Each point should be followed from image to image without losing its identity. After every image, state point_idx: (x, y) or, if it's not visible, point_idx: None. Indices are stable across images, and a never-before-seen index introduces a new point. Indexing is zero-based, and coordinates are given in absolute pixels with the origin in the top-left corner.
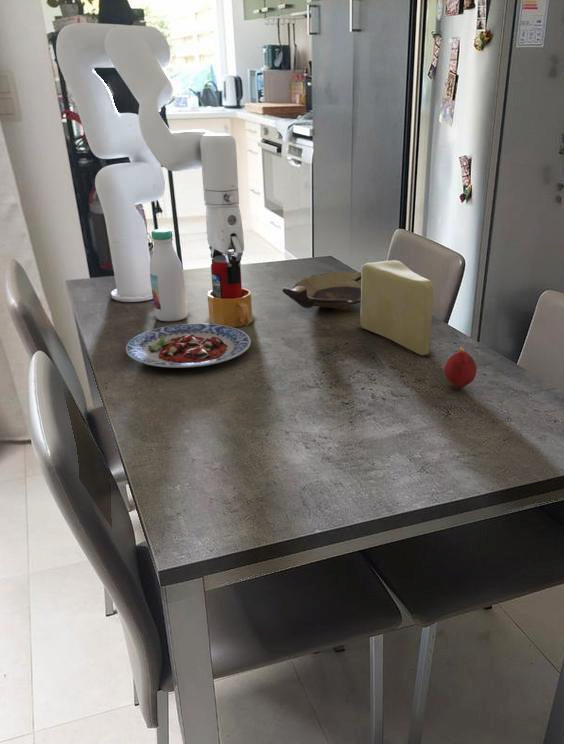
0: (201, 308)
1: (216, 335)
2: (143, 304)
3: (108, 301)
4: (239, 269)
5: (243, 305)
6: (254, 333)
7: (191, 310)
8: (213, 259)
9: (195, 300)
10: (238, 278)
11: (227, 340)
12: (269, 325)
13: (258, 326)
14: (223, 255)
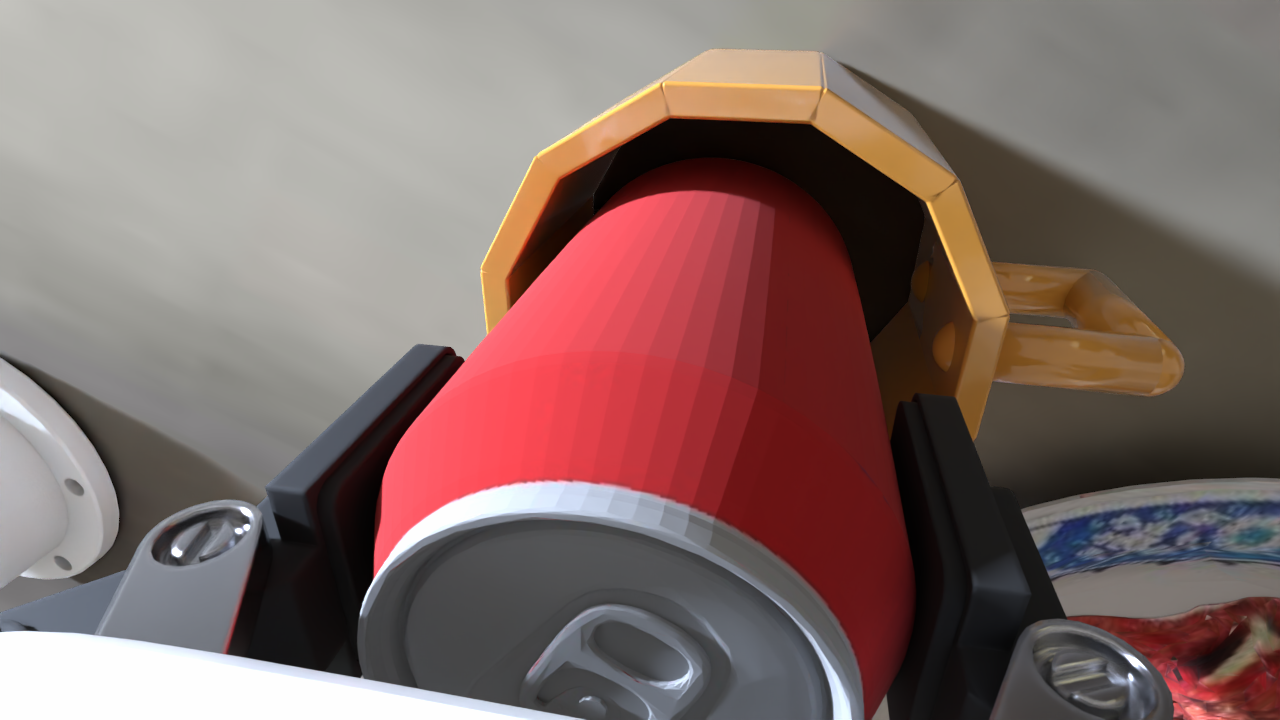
0: (353, 280)
1: (1093, 575)
2: (164, 499)
3: (77, 584)
4: (1003, 537)
5: (1141, 394)
6: (1211, 270)
7: (372, 355)
8: (357, 671)
9: (150, 220)
10: (1013, 495)
11: (1250, 571)
12: (1151, 18)
13: (1078, 135)
14: (374, 626)
